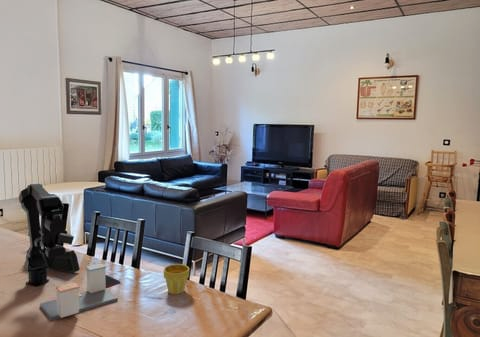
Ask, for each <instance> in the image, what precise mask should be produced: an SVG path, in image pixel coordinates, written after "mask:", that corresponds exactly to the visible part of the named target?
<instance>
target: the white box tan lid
mask: <svg viewBox="0 0 480 337" xmlns="http://www.w3.org/2000/svg"><path fill="white" fill-rule="evenodd" d="M55 289H56V299H57V314H58V315H59V316H60V317H61V318H60V319H62V318H65V317H68V316H69V317H70V316H72V315H75V314H79V313H80V312H79V293H80V286H79V284H77V283H76V282H70V283H67V284H63V285H59V286H58V285H57V286H55Z"/></svg>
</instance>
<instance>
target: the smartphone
mask: <svg viewBox="0 0 480 337" xmlns="http://www.w3.org/2000/svg"><path fill="white" fill-rule="evenodd" d="M105 280H106V289H107V288H110V287H113V286H115V285H116V286H117V285H119V284H120V283H121V281H120V280H118V279H116V278H114V277H111V276H109V275H107V274H105Z"/></svg>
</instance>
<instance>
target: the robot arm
mask: <svg viewBox="0 0 480 337" xmlns="http://www.w3.org/2000/svg"><path fill="white" fill-rule="evenodd" d="M18 202H19V203H20V205H21V206H20V207H21V209H22V210H24V212H25V213H26V219H27V228H28V234H29V235H28V238H29V243H30V244H29V245H30V246H29V248H30V249H29V248H28V250H29V251H28V253H27V252H26V255H27V258H26V257H25V261H24V263H23V264H24V270H25V271H26V272H27V274H28V275H27V276H28V281H26V282H25V285H28V286H29V285H30V286H34V287H40V286H41V285H43V284H45V283H47V282H50V279H49V278H48V276H47V268H52V266H53V263H54V259H55V256H59V255H65V254H66V251H67V248H66V247H64V246H63V245H61V244H67V245H73V244H72V243H73V242H74V238H75V236H73V235H72V234H70V233H68V231H67V230H66V228H67V223H66V221H65V220H64V219H63V218H61V215H64V212H65V207H64V205H63V202H62V200H61V198H60V197H59V196H58V194H55V193H49V192H48V191H47V190H46V188H44V186H43V184H41V183H33V184H31V183H30V184H28V185H27V186H26V188H24V189H22V190H21V191H20V193H19V195H18Z"/></svg>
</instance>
